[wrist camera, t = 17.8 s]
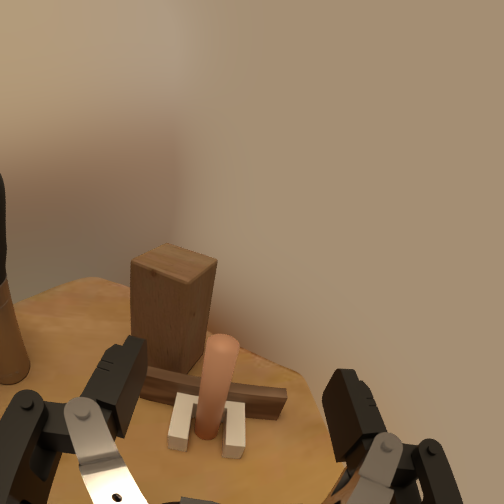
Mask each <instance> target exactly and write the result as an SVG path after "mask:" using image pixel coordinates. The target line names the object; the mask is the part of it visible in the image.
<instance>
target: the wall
mask: <svg viewBox="0 0 504 504" xmlns="http://www.w3.org/2000/svg"><path fill="white" fill-rule="evenodd" d="M200 383H201V377H196V376H191V375H186V374H181V373H176V372H172V371H167V370H163V369H159V368H154V367H150V366H148V369H147V375H146V378H145V381H144V384H143V387H142V389H141V392H140V398H143V399H147V400H151V401H155V402H159V403H163V404H168V405H172V406H174V404H175V400H176V396H177V392H179V393H184V394H189V395H194V396H199V390H200ZM286 400H287V391H286V388H274V387H264V386H255V385H247V384H239V383H232V382H231V384H230V388H229V391H228V395H227V399H226V401H233V402H242V403H245V417H246V418H256V419H269V420H277V419H278V417H279V415H280V413H281V411H282V409H283V407H284V404H285V402H286Z"/></svg>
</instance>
